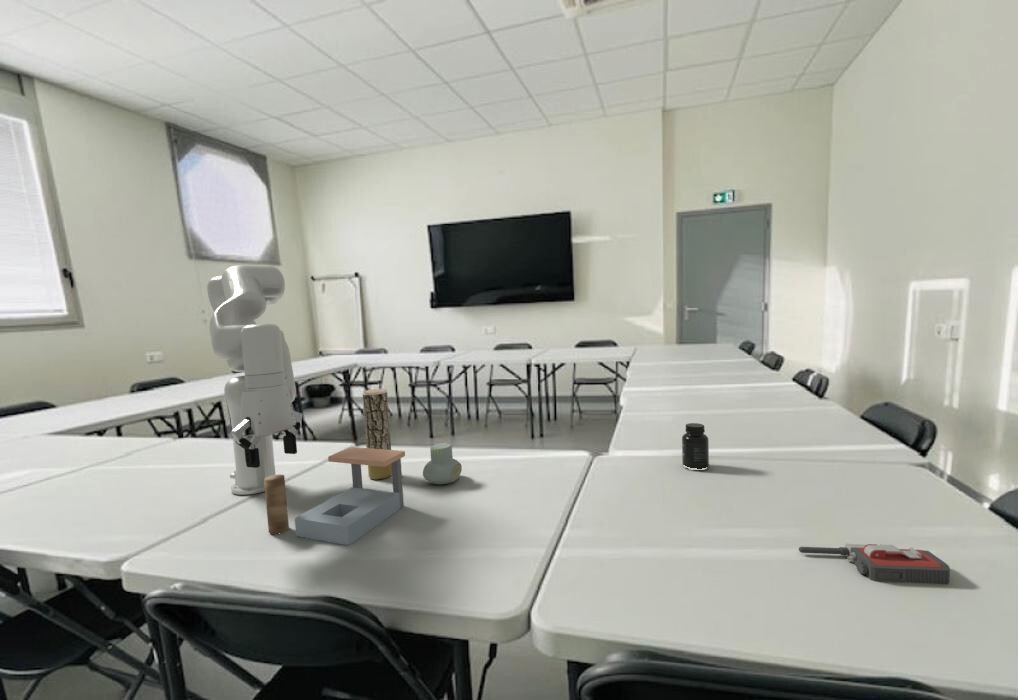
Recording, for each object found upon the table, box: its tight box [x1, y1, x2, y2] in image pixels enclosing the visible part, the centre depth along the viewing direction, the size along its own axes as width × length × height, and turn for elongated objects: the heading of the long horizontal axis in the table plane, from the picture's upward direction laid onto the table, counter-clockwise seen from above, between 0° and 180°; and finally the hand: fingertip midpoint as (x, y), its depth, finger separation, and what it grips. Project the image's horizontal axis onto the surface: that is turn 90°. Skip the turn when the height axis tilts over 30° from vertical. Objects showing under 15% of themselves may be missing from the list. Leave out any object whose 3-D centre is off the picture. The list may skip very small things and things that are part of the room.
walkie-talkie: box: [798, 542, 951, 586], centre depth 78 cm, size 9×4×20 cm
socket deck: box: [294, 446, 406, 546], centre depth 105 cm, size 16×20×14 cm
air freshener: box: [422, 442, 462, 485], centre depth 127 cm, size 11×8×10 cm
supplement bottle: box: [681, 422, 710, 469], centre depth 129 cm, size 7×7×12 cm
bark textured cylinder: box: [362, 388, 392, 480], centre depth 133 cm, size 7×7×25 cm
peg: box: [264, 474, 290, 535], centre depth 102 cm, size 4×4×12 cm
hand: (272, 459), depth 100 cm, fingers open, 9 cm apart
